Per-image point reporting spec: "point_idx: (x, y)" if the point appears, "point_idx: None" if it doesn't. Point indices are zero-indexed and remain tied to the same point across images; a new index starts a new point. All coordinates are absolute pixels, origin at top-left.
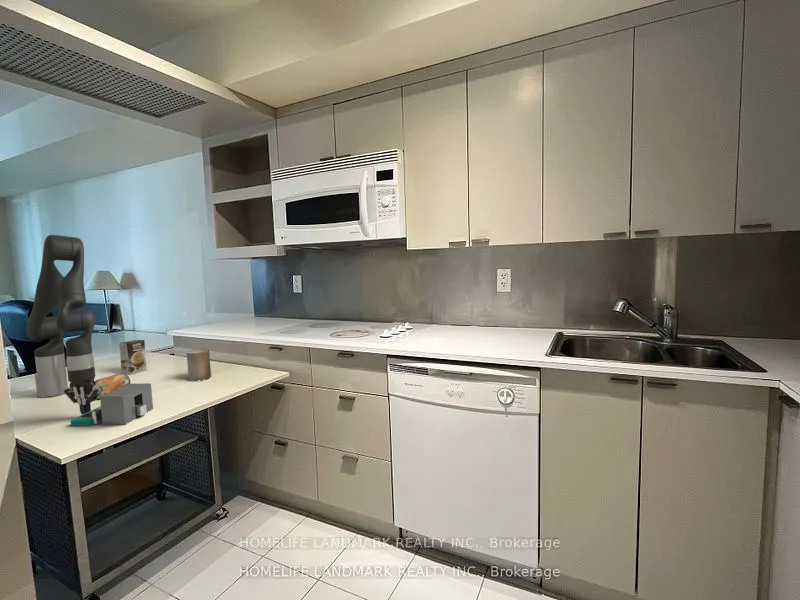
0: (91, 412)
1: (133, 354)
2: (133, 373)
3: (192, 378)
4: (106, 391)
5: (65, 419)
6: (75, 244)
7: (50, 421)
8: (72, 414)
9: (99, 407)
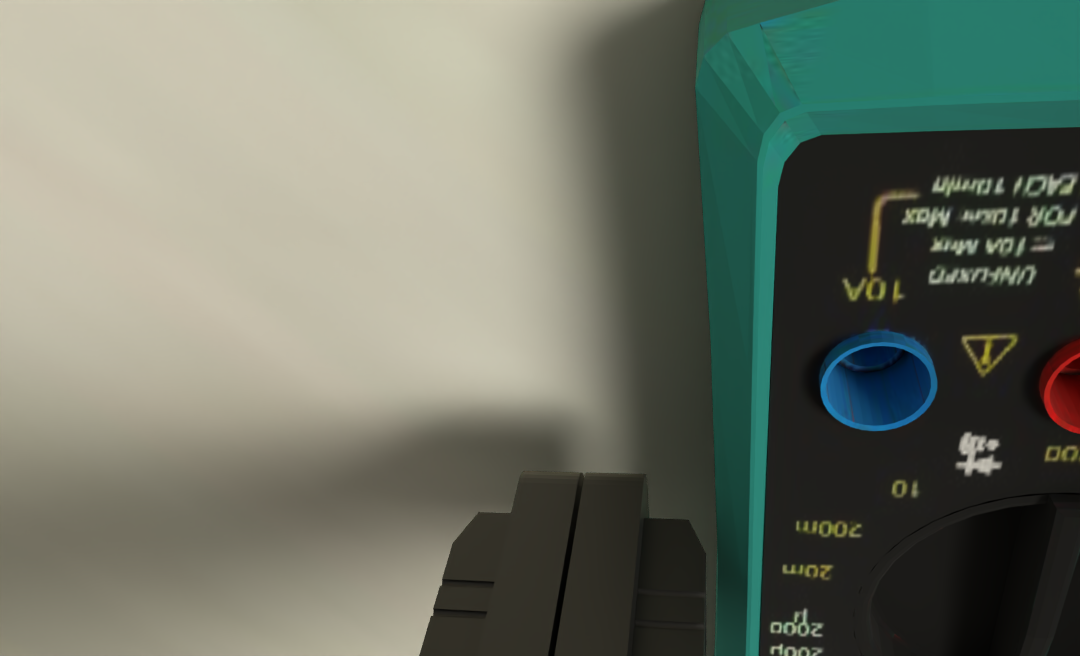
0: (853, 648)
1: None
2: None
3: None
4: None
5: (243, 550)
6: None
7: (57, 609)
8: (44, 303)
9: (772, 303)
